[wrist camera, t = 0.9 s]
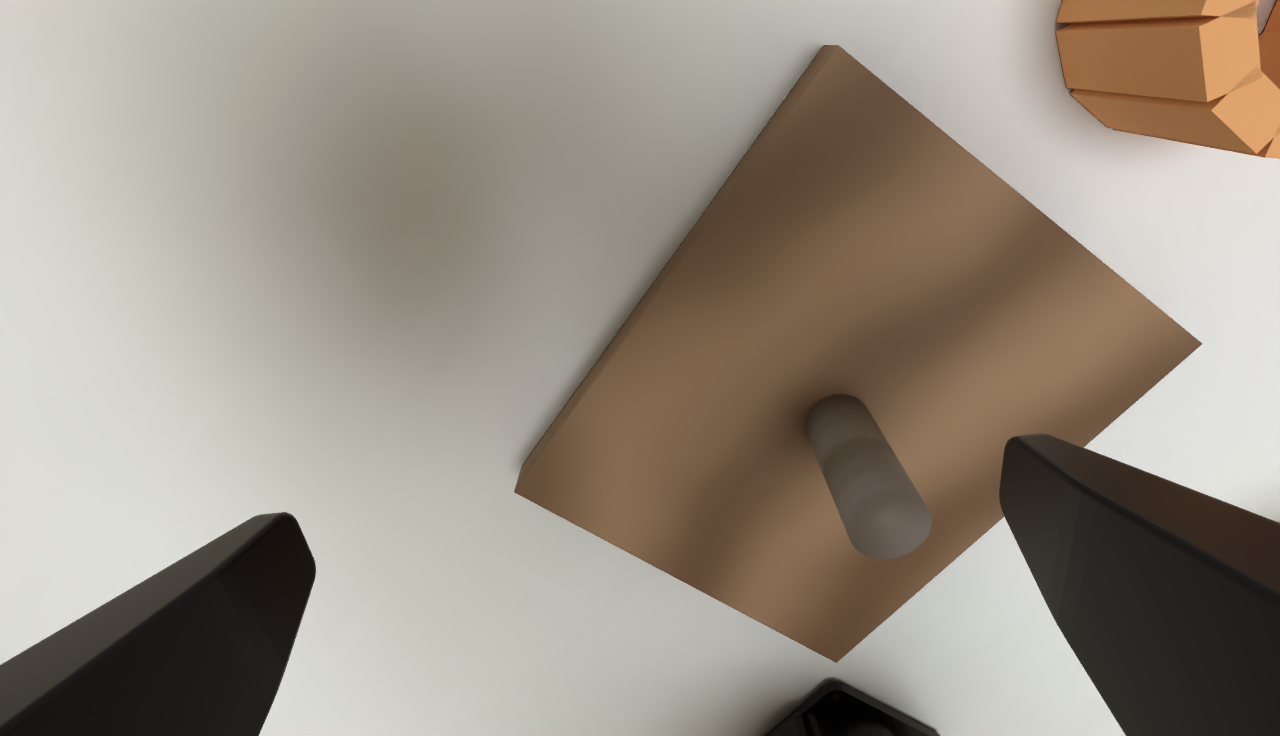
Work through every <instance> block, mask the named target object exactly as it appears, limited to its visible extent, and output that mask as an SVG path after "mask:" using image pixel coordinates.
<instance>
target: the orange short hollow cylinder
mask: <svg viewBox="0 0 1280 736" xmlns="http://www.w3.org/2000/svg"><path fill="white" fill-rule="evenodd" d="M1259 1H1260V0H1063V1H1062V4H1061V8H1060V11H1059V14H1058V18H1057V21H1056V23H1069V24H1070V25H1068V26H1065V27H1063V28H1061V29H1059V30H1057V31H1055V32H1056V37H1057V42H1058V47H1059V52H1060V57H1061V63H1062V68H1063V73H1064V78H1065V83H1066V88H1075V89H1074V90H1073V91H1072V92H1071V93H1070V95H1072V96H1073V97H1074V98H1075V99H1076V100H1077V101H1078V102H1079V103H1081V104H1082V105H1083V106H1084V107H1085V108H1086V109H1087V110H1088V111H1089V112H1091V113H1092V114H1093V115H1094V116H1095V117H1096V118H1097V119H1098V120H1100V121H1101V122H1102V123H1103V124H1104V125H1105V126H1106V127H1110V128H1114V129H1113V130H1118V131H1124V132H1129V133H1134V134H1140V135H1145V136H1151V137H1156V138H1162V139H1167V140H1173V141H1178V142H1184V143H1189V144H1194V145H1200V146H1205V147H1211V148H1216V149H1222V150H1227V151H1233V152H1238V153H1244V154H1249V155H1255V156H1260V157H1266V158H1279V159H1280V0H1277V2H1276V4H1275V6H1274V9H1273V11H1272V13H1271V16H1270V18H1269V20H1268V23H1267V25H1266V27H1265V30H1264V32H1263V33H1262V34H1261V35H1260V36H1259V37H1258V28H1257V16H1256V8H1257V6H1258V3H1259Z"/></svg>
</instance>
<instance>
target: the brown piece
mask: <svg viewBox="0 0 1280 736" xmlns="http://www.w3.org/2000/svg"><path fill="white" fill-rule="evenodd" d="M1200 345H1202V343H1201V342H1200V341H1198V340H1197V339H1196V338H1195V337H1194V336H1192V335H1191V334H1190V333H1189V332H1187V331H1186V330H1185V329H1184V328H1183V327H1181V326H1180V325H1179V324H1178V323H1176V322H1175V321H1174V320H1173V319H1172V318H1170V317H1169V316H1168V315H1167V314H1165V313H1164V312H1163V311H1162V310H1161V309H1159V308H1158V307H1157V306H1156V305H1154V304H1153V303H1152V302H1151V301H1150V300H1148V299H1147V298H1146V297H1145V296H1144V295H1142V294H1141V293H1140V292H1139V291H1137V290H1136V289H1135V288H1134V287H1133V286H1131V285H1130V284H1129V283H1128V282H1126V281H1125V280H1124V279H1123V278H1122V277H1120V276H1119V275H1118V274H1117V273H1115V272H1114V271H1113V270H1112V269H1111V268H1109V267H1108V266H1107V265H1106V264H1104V263H1103V262H1102V261H1101V260H1100V259H1098V258H1097V257H1096V256H1095V255H1093V254H1092V253H1091V252H1090V251H1089V250H1087V249H1086V248H1085V247H1084V246H1083V245H1081V244H1080V243H1079V242H1078V241H1076V240H1075V239H1074V238H1073V237H1072V236H1070V235H1069V234H1068V233H1067V232H1065V231H1064V230H1063V229H1062V228H1061V227H1059V226H1058V225H1057V224H1056V223H1054V222H1053V221H1052V220H1051V219H1050V218H1048V217H1047V216H1046V215H1045V214H1043V213H1042V212H1041V211H1040V210H1039V209H1037V208H1036V207H1035V206H1034V205H1032V204H1031V203H1030V202H1029V201H1028V200H1026V199H1025V198H1024V197H1023V196H1021V195H1020V194H1019V193H1018V192H1017V191H1015V190H1014V189H1013V188H1012V187H1011V186H1009V185H1008V184H1007V183H1006V182H1004V181H1003V180H1002V179H1001V178H1000V177H998V176H997V175H996V174H995V173H993V172H992V171H991V170H990V169H989V168H987V167H986V166H985V165H984V164H982V163H981V162H980V161H979V160H978V159H976V158H975V157H974V156H973V155H971V154H970V153H969V152H968V151H967V150H965V149H964V148H963V147H962V146H960V145H959V144H958V143H957V142H956V141H954V140H953V139H952V138H951V137H950V136H948V135H947V134H946V133H945V132H943V131H942V130H941V129H940V128H939V127H937V126H936V125H935V124H934V123H932V122H931V121H930V120H929V119H928V118H926V117H925V116H924V115H923V114H921V113H920V112H919V111H918V110H917V109H915V108H914V107H913V106H912V105H910V104H909V103H908V102H907V101H906V100H904V99H903V98H902V97H901V96H899V95H898V94H897V93H896V92H895V91H893V90H892V89H891V88H890V87H889V86H887V85H886V84H885V83H884V82H882V81H881V80H880V79H879V78H878V77H876V76H875V75H874V74H873V73H871V72H870V71H869V70H868V69H867V68H865V67H864V66H863V65H862V64H860V63H859V62H858V61H857V60H856V59H854V58H853V57H852V56H851V55H849V54H848V53H847V52H846V51H845V50H843V49H842V48H841V47H840V46H838V45H824V46H823V47H822V48H821V50H820V51H819V53H818V54H817V55H816V57H815V58H814V60H813V61H812V62H811V64H810V65H809V67H808V68H807V69H806V71H805V72H804V74H803V75H802V76H801V78H800V79H799V81H798V82H797V83H796V85H795V86H794V87H793V89H792V90H791V92H790V93H789V94H788V96H787V97H786V99H785V100H784V101H783V103H782V104H781V106H780V107H779V108H778V110H777V111H776V113H775V114H774V115H773V117H772V118H771V120H770V121H769V122H768V124H767V125H766V127H765V128H764V129H763V131H762V132H761V133H760V135H759V136H758V138H757V139H756V140H755V142H754V143H753V145H752V146H751V147H750V149H749V150H748V152H747V153H746V154H745V156H744V157H743V159H742V160H741V161H740V163H739V164H738V166H737V167H736V168H735V170H734V171H733V173H732V174H731V175H730V177H729V178H728V179H727V181H726V182H725V184H724V185H723V186H722V188H721V189H720V191H719V192H718V193H717V195H716V196H715V198H714V199H713V200H712V202H711V203H710V205H709V206H708V207H707V209H706V210H705V212H704V213H703V214H702V216H701V217H700V219H699V220H698V221H697V223H696V224H695V225H694V227H693V228H692V230H691V231H690V232H689V234H688V235H687V237H686V238H685V239H684V241H683V242H682V244H681V245H680V246H679V248H678V249H677V251H676V252H675V253H674V255H673V256H672V258H671V259H670V260H669V262H668V263H667V265H666V266H665V267H664V269H663V270H662V271H661V273H660V274H659V276H658V277H657V278H656V280H655V281H654V283H653V284H652V285H651V287H650V288H649V290H648V291H647V292H646V294H645V295H644V297H643V298H642V299H641V301H640V302H639V304H638V305H637V306H636V308H635V309H634V311H633V312H632V313H631V315H630V316H629V317H628V319H627V320H626V322H625V323H624V324H623V326H622V327H621V329H620V330H619V331H618V333H617V334H616V336H615V337H614V338H613V340H612V341H611V343H610V344H609V345H608V347H607V348H606V350H605V351H604V352H603V354H602V355H601V357H600V358H599V359H598V361H597V362H596V363H595V365H594V366H593V368H592V369H591V370H590V372H589V373H588V375H587V376H586V377H585V379H584V380H583V382H582V383H581V384H580V386H579V387H578V389H577V390H576V391H575V393H574V394H573V396H572V397H571V398H570V400H569V401H568V403H567V404H566V405H565V407H564V408H563V409H562V411H561V412H560V414H559V415H558V416H557V418H556V419H555V421H554V422H553V423H552V425H551V426H550V428H549V429H548V430H547V432H546V433H545V435H544V436H543V437H542V439H541V440H540V442H539V443H538V444H537V446H536V447H535V449H534V450H533V451H532V453H531V454H530V455H529V457H528V458H527V460H526V461H525V462H524V464H523V465H522V467H521V471H520V474H519V477H518V481H517V484H516V487H515V491H514V492H515V493H517V494H519V495H521V496H522V497H524V498H526V499H528V500H530V501H532V502H534V503H536V504H538V505H539V506H541V507H543V508H545V509H547V510H549V511H551V512H553V513H555V514H556V515H558V516H560V517H562V518H564V519H566V520H568V521H570V522H572V523H573V524H575V525H577V526H579V527H581V528H583V529H585V530H587V531H589V532H590V533H592V534H594V535H596V536H598V537H600V538H602V539H604V540H605V541H607V542H609V543H611V544H613V545H615V546H617V547H619V548H621V549H622V550H624V551H626V552H628V553H630V554H632V555H634V556H636V557H638V558H639V559H641V560H643V561H645V562H647V563H649V564H651V565H653V566H655V567H656V568H658V569H660V570H662V571H664V572H666V573H668V574H670V575H672V576H673V577H675V578H677V579H679V580H681V581H683V582H685V583H687V584H689V585H690V586H692V587H694V588H696V589H698V590H700V591H702V592H704V593H706V594H707V595H709V596H711V597H713V598H715V599H717V600H719V601H721V602H723V603H724V604H726V605H728V606H730V607H732V608H734V609H736V610H738V611H740V612H741V613H743V614H745V615H747V616H749V617H751V618H753V619H755V620H757V621H758V622H760V623H762V624H764V625H766V626H768V627H770V628H772V629H774V630H775V631H777V632H779V633H781V634H783V635H785V636H787V637H789V638H790V639H792V640H794V641H796V642H798V643H800V644H802V645H804V646H806V647H807V648H809V649H811V650H813V651H815V652H817V653H819V654H821V655H823V656H824V657H826V658H828V659H830V660H832V661H834V662H836V663H837V662H838V661H839V660H840V659H841V658H842V657H844V656H845V655H846V654H847V653H848V652H849V651H850V650H852V649H853V648H854V647H855V646H856V645H857V644H858V643H860V642H861V641H862V640H863V639H864V638H865V637H867V636H868V635H869V634H870V633H871V632H872V631H873V630H875V629H876V628H877V627H878V626H879V625H880V624H881V623H883V622H884V621H885V620H886V619H887V618H888V617H889V616H891V615H892V614H893V613H894V612H895V611H896V610H897V609H899V608H900V607H901V606H902V605H903V604H904V603H906V602H907V601H908V600H909V599H910V598H911V597H912V596H914V595H915V594H916V593H917V592H918V591H919V590H920V589H922V588H923V587H924V586H925V585H926V584H927V583H928V582H930V581H931V580H932V579H933V578H934V577H935V576H937V575H938V574H939V573H940V572H941V571H942V570H943V569H945V568H946V567H947V566H948V565H949V564H950V563H951V562H953V561H954V560H955V559H956V558H957V557H958V556H959V555H961V554H962V553H963V552H964V551H965V550H966V549H968V548H969V547H970V546H971V545H972V544H973V543H974V542H976V541H977V540H978V539H979V538H980V537H981V536H982V535H984V534H985V533H986V532H987V531H988V530H989V529H990V528H992V527H993V526H994V525H995V524H996V523H997V522H998V521H1000V520H1001V519H1002V518H1003V517H1004V514H1003V512H1002V509H1001V506H1000V501H999V488H1000V480H1001V472H1002V464H1003V455H1004V449H1005V445H1006V443H1007V441H1008V440H1009V439H1010V438H1012V437H1014V436H1022V435H1031V434H1040V433H1042V434H1049V435H1052V436H1054V437H1057V438H1059V439H1062V440H1065V441H1067V442H1070V443H1072V444H1075V445H1078V446H1080V447H1085V446H1086V445H1087V444H1088V443H1089V442H1090V441H1091V440H1093V439H1094V438H1095V437H1096V436H1097V435H1098V434H1099V433H1101V432H1102V431H1103V430H1104V429H1105V428H1106V427H1108V426H1109V425H1110V424H1111V423H1112V422H1113V421H1114V420H1116V419H1117V418H1118V417H1119V416H1120V415H1121V414H1122V413H1124V412H1125V411H1126V410H1127V409H1128V408H1129V407H1130V406H1132V405H1133V404H1134V403H1135V402H1136V401H1137V400H1139V399H1140V398H1141V397H1142V396H1143V395H1144V394H1145V393H1147V392H1148V391H1149V390H1150V389H1151V388H1152V387H1153V386H1155V385H1156V384H1157V383H1158V382H1159V381H1160V380H1161V379H1163V378H1164V377H1165V376H1166V375H1167V374H1168V373H1169V372H1171V371H1172V370H1173V369H1174V368H1175V367H1176V366H1178V365H1179V364H1180V363H1181V362H1182V361H1183V360H1184V359H1186V358H1187V357H1188V356H1189V355H1190V354H1191V353H1192V352H1194V351H1195V350H1196V349H1197V348H1198V347H1199V346H1200Z"/></svg>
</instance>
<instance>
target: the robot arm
mask: <svg viewBox="0 0 1280 736" xmlns="http://www.w3.org/2000/svg"><path fill="white" fill-rule="evenodd" d="M999 501H1000V506H1001V509H1002V512H1003V514H1004V516H1005V518H1006V520H1007V523H1008V525H1009V527H1010V529H1011V531H1012V533H1013V535H1014V537H1015V539H1016V541H1017V543H1018V545H1019V548H1020V550H1021V552H1022V554H1023V556H1024V558H1025V560H1026V562H1027V564H1028V566H1029V568H1030V570H1031V572H1032V575H1033V577H1034V579H1035V581H1036V583H1037V585H1038V587H1039V589H1040V591H1041V593H1042V595H1043V597H1044V600H1045V602H1046V604H1047V606H1048V608H1049V610H1050V611H1051V613H1052V615H1053V617H1054V619H1055V621H1056V623H1057V625H1058V626H1059V628H1060V630H1061V632H1062V633H1063V635H1064V637H1065V638H1066V640H1067V642H1068V643H1069V645H1070V647H1071V648H1072V650H1073V651H1074V653H1075V655H1076V656H1077V658H1078V659H1079V661H1080V663H1081V664H1082V666H1083V667H1084V669H1085V671H1086V672H1087V674H1088V675H1089V677H1090V679H1091V680H1092V682H1093V683H1094V685H1095V687H1096V688H1097V690H1098V691H1099V693H1100V695H1101V696H1102V698H1103V699H1104V701H1105V703H1106V704H1107V706H1108V708H1109V709H1110V711H1111V712H1112V714H1113V716H1114V717H1115V719H1116V720H1117V722H1118V724H1119V725H1120V727H1121V728H1122V730H1123V732H1124V733H1125V735H1126V736H1280V523H1278V522H1276V521H1273V520H1270V519H1268V518H1265V517H1263V516H1260V515H1257V514H1255V513H1252V512H1249V511H1247V510H1244V509H1242V508H1239V507H1236V506H1234V505H1231V504H1229V503H1226V502H1223V501H1221V500H1218V499H1216V498H1213V497H1210V496H1208V495H1205V494H1203V493H1200V492H1197V491H1195V490H1192V489H1190V488H1187V487H1184V486H1182V485H1179V484H1177V483H1174V482H1171V481H1169V480H1166V479H1164V478H1161V477H1158V476H1156V475H1153V474H1151V473H1148V472H1145V471H1143V470H1140V469H1138V468H1135V467H1132V466H1130V465H1127V464H1125V463H1122V462H1119V461H1117V460H1114V459H1112V458H1109V457H1106V456H1104V455H1101V454H1098V453H1096V452H1093V451H1091V450H1088V449H1085V448H1083V447H1080V446H1078V445H1075V444H1072V443H1070V442H1067V441H1065V440H1062V439H1059V438H1057V437H1054V436H1052V435H1049V434H1042V433H1040V434H1031V435H1022V436H1014V437H1012V438H1010V439H1009V440H1008V441H1007V443H1006V445H1005V449H1004V455H1003V464H1002V472H1001V480H1000V488H999ZM315 574H316V566H315V561H314V558H313V556H312V553H311V551H310V549H309V547H308V544H307V542H306V540H305V537H304V535H303V533H302V531H301V528H300V526H299V524H298V522H297V520H296V518H295V517H294V516H293V515H291V514H289V513H287V512H282V513H272V514H262V515H257V516H255V517H253V518H251V519H249V520H247V521H246V522H244V523H242V524H240V525H239V526H237V527H235V528H234V529H232V530H230V531H229V532H227V533H225V534H223V535H222V536H220V537H218V538H217V539H215V540H213V541H211V542H210V543H208V544H206V545H205V546H203V547H201V548H199V549H198V550H196V551H194V552H193V553H191V554H189V555H187V556H186V557H184V558H182V559H181V560H179V561H177V562H176V563H174V564H172V565H170V566H169V567H167V568H165V569H164V570H162V571H160V572H158V573H157V574H155V575H153V576H152V577H150V578H148V579H146V580H145V581H143V582H141V583H140V584H138V585H136V586H134V587H133V588H131V589H129V590H128V591H126V592H124V593H122V594H121V595H119V596H117V597H116V598H114V599H112V600H111V601H109V602H107V603H105V604H104V605H102V606H100V607H99V608H97V609H95V610H93V611H92V612H90V613H88V614H87V615H85V616H83V617H81V618H80V619H78V620H76V621H75V622H73V623H71V624H69V625H68V626H66V627H64V628H63V629H61V630H59V631H58V632H56V633H54V634H52V635H51V636H49V637H47V638H46V639H44V640H42V641H40V642H39V643H37V644H35V645H34V646H32V647H30V648H28V649H27V650H25V651H23V652H22V653H20V654H18V655H16V656H15V657H13V658H11V659H10V660H8V661H6V662H5V663H3V664H1V665H0V736H259V734H260V731H261V729H262V727H263V724H264V722H265V720H266V718H267V715H268V713H269V711H270V708H271V706H272V704H273V701H274V699H275V696H276V694H277V691H278V689H279V686H280V683H281V680H282V677H283V675H284V672H285V669H286V666H287V663H288V660H289V657H290V654H291V651H292V648H293V645H294V642H295V639H296V635H297V632H298V629H299V626H300V623H301V620H302V617H303V614H304V611H305V608H306V605H307V602H308V599H309V596H310V593H311V590H312V587H313V583H314V580H315ZM766 736H940V735H939V734H938V733H936V732H934V731H932V730H931V729H929V728H927V727H925V726H923V725H921V724H919V723H917V722H915V721H913V720H911V719H909V718H908V717H906V716H904V715H902V714H900V713H898V712H896V711H894V710H892V709H890V708H888V707H886V706H885V705H883V704H881V703H879V702H877V701H875V700H873V699H871V698H869V697H867V696H865V695H863V694H861V693H860V692H858V691H856V690H854V689H852V688H850V687H848V686H846V685H844V684H842V683H840V682H829V683H827V684H825V685H824V686H823V687H821V688H820V689H819V690H818V691H817V692H816V693H814V694H813V695H812V696H811V697H810V698H809V699H807V700H806V701H805V702H804V703H803V704H802V705H801V706H799V707H798V708H797V709H796V710H795V711H794V712H792V713H791V714H790V715H789V716H788V717H787V718H785V719H784V720H783V721H782V722H781V723H780V724H778V725H777V726H776V727H775V728H774V729H773V730H771V731H770V732H769V733H768V734H767V735H766Z"/></svg>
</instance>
